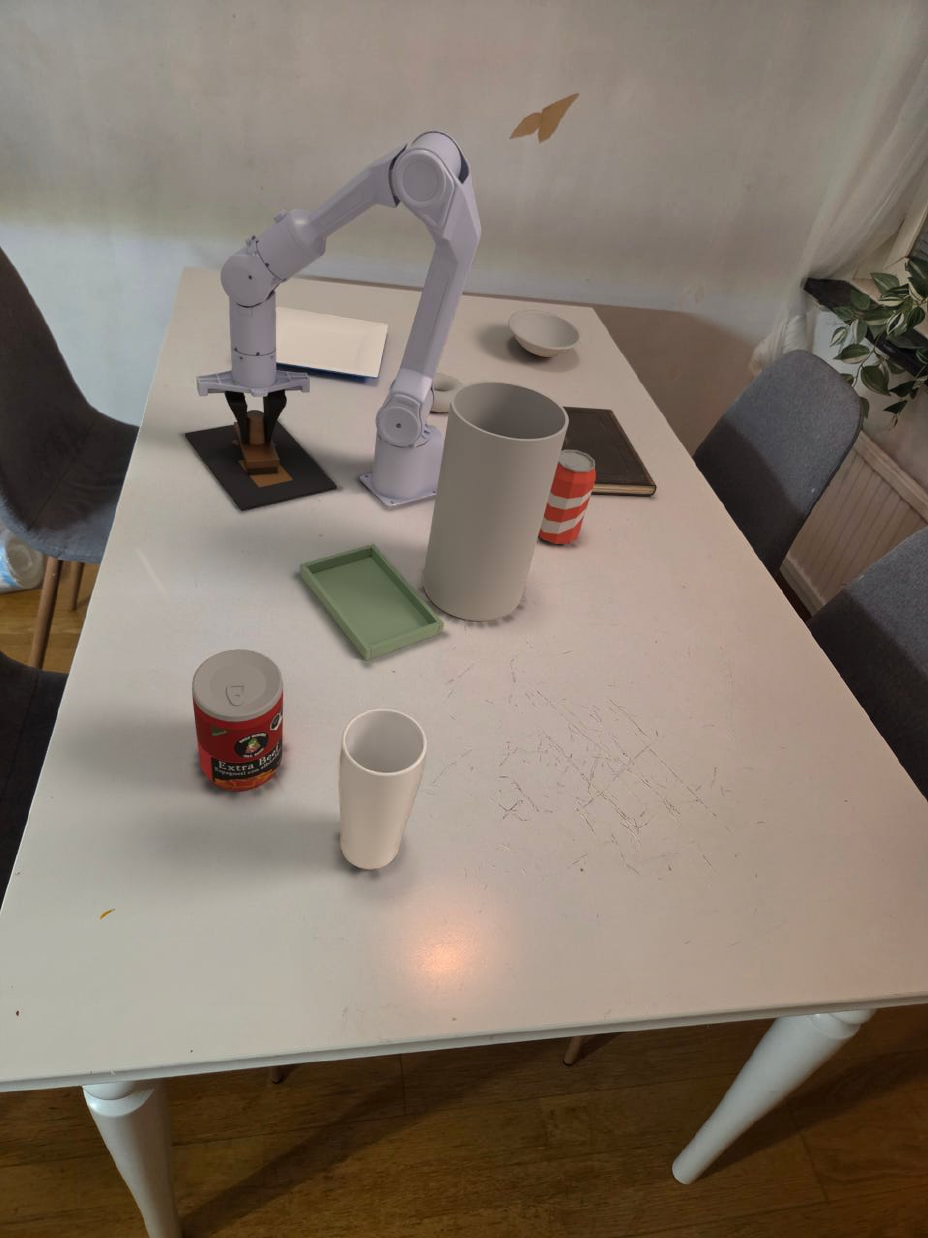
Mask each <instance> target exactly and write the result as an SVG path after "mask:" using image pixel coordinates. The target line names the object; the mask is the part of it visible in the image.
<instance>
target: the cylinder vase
mask: <svg viewBox="0 0 928 1238" xmlns="http://www.w3.org/2000/svg"><path fill="white" fill-rule="evenodd" d="M463 385H464V384H463ZM562 406H563V405H562V404H560V403H559V402H558V401H557V400H555V399H554V398H552V397H551V396H550V395H548V394H545V392H542V391H539V390H537V389H535V388H532V387H529V386H526V385H523V384H518V383H514V382H508V381H500V380H499V381H498V380H484V381H483V380H481V381H475V382H471V383H467V384H465V385H464V386H462V387H460V388H459V389H457V390H456V391H455V392H454V393H453V395H452V397H451V403H450V409H449V412H448V416H447V422H446V429H445V435H444V447H443V454H442V460H441V466H440V473H439V479H438V485H437V492H436V495H435V499H434V505H433V511H432V518H431V524H430V529H429V530H430V531H429V538H428V544H427V548H426V549H427V550H426V556H425V562H424V570H423V575H422V585H423V590H424V592H425V594H426V596H427V597H428V598H429V600H430V601H431V602H432V604H434V605H435V606H436V607H437V608H438V609H440V610H441V611H443V612H444V613H446V614H448V615H450V616H453V617H455V618H458V619H462V620H466V621H472V622H488V621H489V622H490V621H495V620H499V619H502V618H504V617H506V616H508V615H509V614H511V613H512V612H513V611H514V610H515V609H516V608H518V605H519V604H520V603H521V600H522V597H523V593H524V590H525V586H526V582H527V579H528V575H529V572H530V567H531V563H532V560H533V556H534V552H535V548H536V545H537V542H538V538H539V531H540V527H541V523H542V520H543V516H544V512H545V509H546V505H547V501H548V497H549V494H550V490H551V486H552V483H553V479H554V475H555V471H556V468H557V464H558V460H559V457H560V453H561V449H562V446H563V442H564V438H565V434H566V431H567V427H568V423H569V418H568V415H567V413H566V411H565V409H564V408H563V407H562Z"/></svg>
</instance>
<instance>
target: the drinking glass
mask: <svg viewBox="0 0 928 1238" xmlns="http://www.w3.org/2000/svg"><path fill="white" fill-rule="evenodd" d="M427 741H428V740H427V736H426V733H425V731H424V729H423V727H422V726H421V725H420V723H419V722H418V721H416V720H415V719H414V718H413V717H411V716H410V715H408V714H407V713H404V712H403V711H399V710H396V709H390V708H373V709H369V710H365V711H363V712H361V713H359V714H357V715H355V716H354V717H352V718H351V719H350V720H349V721H348V723H347V724H346V725H345V727H344V729H343V731H342V735H341V739H340V744H339V753H338V761H337V784H338V785H337V787H338V800H339V801H338V802H339V818H340V819H339V821H340V835H339V844H340V850H341V853H342V854H343V856H344V858H345V859H346V860H347V861H348V862H349V863H350V864H352V865H353V866H355V867H357V868H359V869H363V870H378V869H381V868H384V867H385V866H387V865H389V864H390V863H391V862H392V861H393V860H394V859H395V858H396V856H397V855H398V853H399V852H400V851H399V850H400V847H401V844H402V843H401V842H402V839H403V834H404V832H405V829H406V826H407V824H408V821H409V818H410V814H411V811H412V809H413V806H414V803H415V800H416V797H417V795H418V792H419V788H420V787H421V786H420V785H421V782H422V780H423V779H422V778H423V775H424V769H425V764H426V757H427V749H428V742H427Z"/></svg>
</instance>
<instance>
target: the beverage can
mask: <svg viewBox="0 0 928 1238" xmlns="http://www.w3.org/2000/svg"><path fill="white" fill-rule="evenodd" d="M595 479H596V471H595V461H594V460H593V459H592V458H591V457H590V456H589V455H588V454H586V453H583V452H580V451H577V450H563V451H561V453H560V457H559V460H558V464H557V468H556V471H555V475H554V479H553V483H552V486H551V490H550V494H549V497H548V501H547V505H546V509H545V512H544V516H543V520H542V523H541V527H540V531H539V534H538V536H539V537H540V538H541V539H543V540H544V541H547V542H549V543H550V544H554V545H557V544H558V545H565V544H571V543H572V542H574V541H575V540H577V539H578V536H579V534H580V531H581V528H582V524H583V521H584V517H585V515H586V511H587V509H588V506H589V501H590V498H591V495H592V494H591V492H592V489H593V486H594V483H595Z"/></svg>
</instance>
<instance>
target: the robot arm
mask: <svg viewBox="0 0 928 1238" xmlns="http://www.w3.org/2000/svg"><path fill="white" fill-rule="evenodd" d="M408 145H409V142H405V143H403V144H402V145H400V146H397V147H396V148H394V149H392V150H390V151H389V152H387V153H385V154H383V155H382V156H380V157H379V158H377V159H375V160H373V161H372V162H371V163H370V164H368V165H367V166H366V167H364V169H362V170H361V171H360V172H358V173H357V174H356V175H355V176H353V178H351V179H350V180H349V181H348V182H346V183H345V184H344V185H342V186H341V187H340V188H339V189H337V190H336V191H335V192H334V193H332V194H331V195H330V196H329V197H328V198H326V199H325V200H324V201H323V202H322V203H320V204H319V205H318V206H317V207H315V208H314V209H313V210H312V211H310V210H305V209H300V208H293V209H291V210H290V211H287V210H286V209H285V208H284V209H282V210H280V211H279V212H277V214H276V215H274V217H273V221H274V222H275V223H273V224H272V225H271V226H269V227H268V228H266V229H265V230H264V231H263V232H261V233H260V234H258V235H257V236H256V235H255V234H252V235H250V236H249V237H248V238H247V239H245V244H246V245H244V246H242V248H240V249H239V250H238V251H237V252H235V253H234V254H233V255H230V256H229V257H228V259H227V260H226V261H225V263H224V264H223V266H222V268H221V270H220V282H221V283H220V284H221V286H222V289H223V291H224V292H225V294H226V295H227V296H228V310H229V311H228V314H229V337H230V338H229V339H230V364H231V365H230V366H231V369H230V370H226V371H221V372H217V373H212V374H203V375H196V377H195V378H196V387H197V388H196V389H197V393H198V396H199V397H208V396H209V395H211V394H224V397H225V400H226V403H227V405H228V407H229V409H230V411H231V412H232V414H233V417H234V418H235V420H236V422H238V426H239V430H240V437H241V439H242V442H243V443H248V432H247V412H248V406H249V405H248V403H247V401H246V395H245V394H250V395H251V397H254V398H261V397H262V407H263V413H264V414H265V440H266V442H271V438H272V434H273V430H274V427H275V424H276V422H277V420H278V421H279V417H280V415H281V414H282V412H283V411H284V409H285V408H286V406H287V402H288V397H287V395H286V392H291V391H292V392H293V391H294V392H295V391H300V393H303V394H304V393H305V394H307V393H310V390H311V388H310V387H311V379H310V377H309V375H308V373H307V372H293V371H286V370H278V369H277V364H276V305H277V303H276V301H277V300H276V299H277V298H276V296H277V295H276V289H277V288H278V287H279V286H280V284H285V283H286V282H288V281H289V280H291V279H292V278H293V277H295V276H297V275H298V274H299V273H301V272H302V271H303V270H305V269H306V268H308V267H309V266H310V265H312V264H313V263H314V262H316V261H317V260H319V259H320V258H321V257H323V256H324V255H325V253H326V248H327V240H328V237H329V236H331V235H332V234H334V233H335V232H337V231H338V230H340V229H341V228H343V227H344V226H346V225H348V224H349V223H350V222H352V221H353V220H354V219H356V218H358V217H359V216H360V215H362V214H363V213H365V212H367V211H368V210H370V209H371V208H373V207H374V206H377V205H380V206H384V207H387V208H392V209H397V207H398V206H399V205H400V203H401V204H402V205H403V206H404V207H405V208H406V210H408V211H409V212H410V213H412V214H413V216H415V217H416V218H417V219H418V220H419V221H421V223H423V224H424V226H425V227H426V230H427V231H428V232H429V235H430V236H431V238H432V239H433V241H434V243H435V247H434V251H433V254H432V258H431V261H430V265H429V268H428V271H427V274H426V278H425V281H424V285H423V288H422V292H421V295H420V298H419V302H418V304H417V305H418V306H417V308H416V312H415V315H414V318H413V322H412V325H411V327H410V332H409V336H408V339H407V343H406V346H405V348H404V349H405V350H404V353H403V355H402V359H401V362H400V365H399V370H398V372H397V374H396V377H395V378H394V379H393V381H392V382H391V384H390V387H389V391H388V393H387V395H386V397H385V399H384V401H383V403H382V405H381V406H380V408H378V410H377V413H376V415H375V427H376V432H375V433H376V434H375V444H374V455H373V467H372V472H371V473H366V474H362V475H360V476H359V480H360V481H361V482H362V484H364V485H365V486H366V488H367V489H368V490H369V491H370V492H372V493H373V494H374V496H375V497H377V498H378V500H379V501H380V502H381V503H382V504H383V505H384V506H385V507H387V508H391V507H395V506H400V505H404V504H407V503H411V502H415V501H419V500H423V499H426V498H432V497H436V492H437V485H438V479H439V473H440V466H441V460H442V454H443V447H444V441H445V438H444V436H443V434H442V432H441V431H440V429H438V427H436V426H435V425H433V424H429V423H428V417H429V415H430V412H431V411H430V410H431V408H432V407H433V405H434V402H435V393H434V386H433V385H434V379H435V376H436V373H438V368H439V365H440V362H441V358H442V356H443V353H444V349H445V346H446V344H447V340H448V339H449V335H450V331H451V328H452V325H453V322H454V319H455V316H456V314H457V311H458V307H459V304H460V301H461V298H462V295H463V293H464V289H465V286H466V283H467V280H468V277H469V274H470V271H471V269H472V265H473V262H474V259H475V255H476V253H477V250H478V247H479V244H480V242H481V241H480V240H481V238H482V225H481V220H480V215H479V210H478V205H477V201H476V195H475V191H474V187H473V180H472V167H471V163H470V162H469V160H468V159H467V157H466V155H465V154H464V152H463V150H462V148H461V147H460V145H459V144H458V142H457V140H456V139H455V138H453V136H451V134H449V133H447V132H445V131H443V130H439V129H430V130H425V131H424V132H422V133H420V134H418V136H417V137H416V138H415V139H414V140H413V141H412V143H411V145H410V146H409V147H408ZM407 147H408V148H407Z"/></svg>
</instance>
